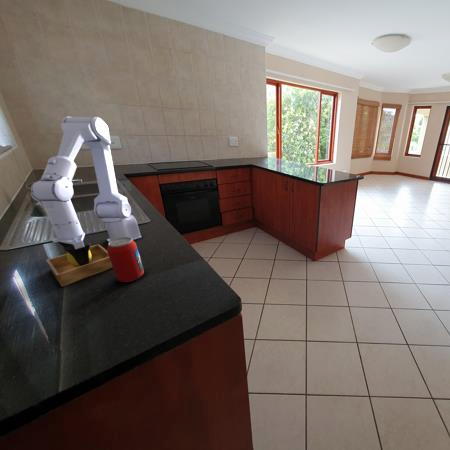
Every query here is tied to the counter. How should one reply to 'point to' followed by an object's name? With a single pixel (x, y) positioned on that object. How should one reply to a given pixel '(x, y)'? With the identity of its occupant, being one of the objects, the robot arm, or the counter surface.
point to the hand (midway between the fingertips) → (81, 261)
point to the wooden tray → (72, 274)
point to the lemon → (73, 261)
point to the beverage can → (125, 259)
